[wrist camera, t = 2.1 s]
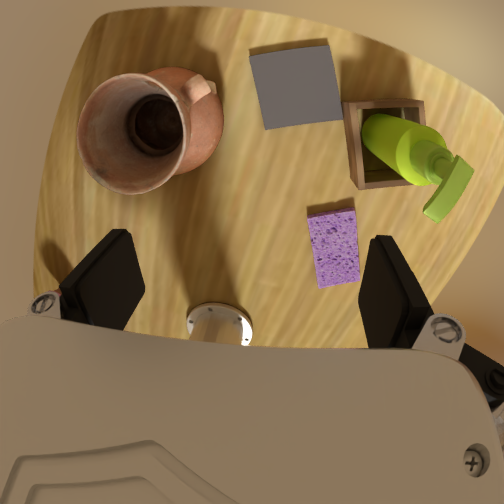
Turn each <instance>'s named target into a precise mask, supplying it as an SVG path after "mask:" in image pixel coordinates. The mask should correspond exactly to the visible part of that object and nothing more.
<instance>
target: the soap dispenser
mask: <svg viewBox="0 0 504 504" xmlns="http://www.w3.org/2000/svg"><path fill="white" fill-rule="evenodd" d="M362 140H363V143H364V145H365V146H366V148H367V149H368V150H369V151H370V152H372V153H373V154H374V155H376V156H377V157H378V158H379V159H381V160H382V161H383V162H385V163H386V164H387V165H388V166H390V167H391V168H392V169H393V170H395V171H396V172H397V173H398V174H400V175H401V176H402V177H403V178H404V179H406V180H407V181H408V182H410V183H412V184H414V185H418V186H425V185H429V184H435V185H439V187H438V188H437V190H436V191H435V193H434V194H433V196H432V197H431V198H430V200H429V201H428V202H427V203H426V204H425V206H424V207H423V213H424V214H425V215H426V216H428V217H429V218H430V219H432V220H433V221H434V222H436V223H437V224H438V223H439V222H440V221H442V219H443V218H444V217H445V216H446V215H447V214H448V213H449V212H450V211H451V209H452V208H453V207H454V206H455V204H456V203H457V201H458V200H459V198H460V197H461V195H462V193H463V192H464V190H465V188H466V186H467V184H468V183H469V181H470V179H471V177H472V175H473V173H474V169H473V168H471V167H470V166H469V165H468V164H467V163H466V162H465V161H464V160H463V159H462V158H461V157H460V156H458V155H456V156H455V158H454V157H453V155H452V153H451V152H450V151H449V150H448V149H447V146H446V143H445V141H444V139H443V138H442V136H441V135H440V134H439V133H438V132H437V131H436V130H434V129H432V128H430V127H428V126H424V125H421V124H418V123H415V122H412V121H408V120H405V119H401V118H398V117H394V116H390V115H387V114H375V115H372V116H371V117H369V118H368V119H367V120H366V121H365V123H364V125H363V127H362Z"/></svg>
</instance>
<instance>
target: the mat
mask: <svg viewBox="0 0 504 504" xmlns="http://www.w3.org/2000/svg"><path fill="white" fill-rule="evenodd" d="M249 59H250V64H251V68H252V72H253V76H254V81H255V85H256V90H257V94H258V99H259V103H260V108H261V112H262V117H263V122H264V126H265V130H268V129H274V128H280V127H287V126H294V125H301V124H308V123H316V122H325V121H334V120H343V114H342V108H341V102H340V96H339V91H338V85H337V80H336V75H335V70H334V65H333V60H332V56H331V51H330V47H329V45H326V46H315V47H305V48H297V49H289V50H282V51H276V52H270V53H264V54H259V55H254V56H249Z"/></svg>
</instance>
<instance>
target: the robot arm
mask: <svg viewBox="0 0 504 504" xmlns="http://www.w3.org/2000/svg"><path fill="white" fill-rule="evenodd" d="M59 288H60V291H61V293H62V294H61V296H60V297H59V295H58V294H57V293H56V292H53V291H50V292H45V293H42V294H40V295H38V296H37V297H36V298H34V300H32V302H31V303H30V305H29V307H28V315H27V316H21V317H16V318H12V319H10V320H7V321H5V322H4V323H2V324H1V325H0V504H504V367H503V366H502V365H500V364H499V363H497V362H495V361H494V360H492V359H491V358H489V357H487V356H486V355H484V354H482V353H481V352H479V351H477V350H476V349H474V348H472V347H471V346H469V345H467V344H466V343H464V342H465V339H466V332H465V329H464V327H463V325H462V324H461V323H460V322H459V321H458V320H457V319H455V318H454V317H452V316H450V315H447V314H442V313H439V314H434V313H433V310H432V308H431V306H430V304H429V302H428V300H427V298H426V296H425V294H424V292H423V290H422V288H421V286H420V284H419V282H418V281H417V279H416V277H415V275H414V273H413V272H412V271H411V269H410V267H409V265H408V264H407V262H406V260H405V258H404V256H403V255H402V253H401V251H400V249H399V248H398V246H397V244H396V243H395V241H394V239H393V238H392V236H387V235H376V237H375V239H371V241H370V245H369V250H368V255H367V260H366V265H365V270H364V274H363V279H362V283H361V288H360V292H359V296H358V304H359V308H360V312H361V317H362V321H363V325H364V329H365V334H366V338H367V343H368V347H369V348H293V347H270V346H252V345H248V344H249V342H250V341H251V339H252V334H253V327H252V324H251V322H250V320H249V319H248V317H247V316H246V315H245V314H244V313H242V312H241V311H240V310H238V309H236V308H235V307H232V306H230V305H226V304H222V303H205V304H201V305H199V306H197V307H195V308H194V309H193V310H192V311H191V312H190V314H189V316H188V319H187V329H188V332H189V334H190V338H189V340H186V339H177V338H169V337H162V336H154V335H148V334H141V333H134V332H128V331H123V329H124V328H125V326H126V324H127V322H128V321H129V319H130V317H131V315H132V314H133V312H134V310H135V308H136V307H137V305H138V303H139V301H140V300H141V298H142V296H143V295H144V292H145V284H144V281H143V277H142V274H141V270H140V266H139V263H138V259H137V255H136V251H135V247H134V243H133V239H132V236H131V234H130V233H129V232H128V231H127V230H126V229H112V230H111V231H110V232H109V233H108V234H107V235H106V236H105V237H104V238H103V239H102V240H101V241H100V242H99V243H98V244H97V245H96V246H95V247H94V248H93V249H92V250H91V251H90V252H89V253H88V255H87V256H86V257H85V258H84V259H83V260H82V261H81V262H80V263H79V264H78V265H77V266H76V267H75V268H74V270H73V271H72V272H71V273H70V274H69V275H68V276H67V277H66V278H65V280H64V281H63V282H62V283H61V284H60V285H59Z"/></svg>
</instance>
